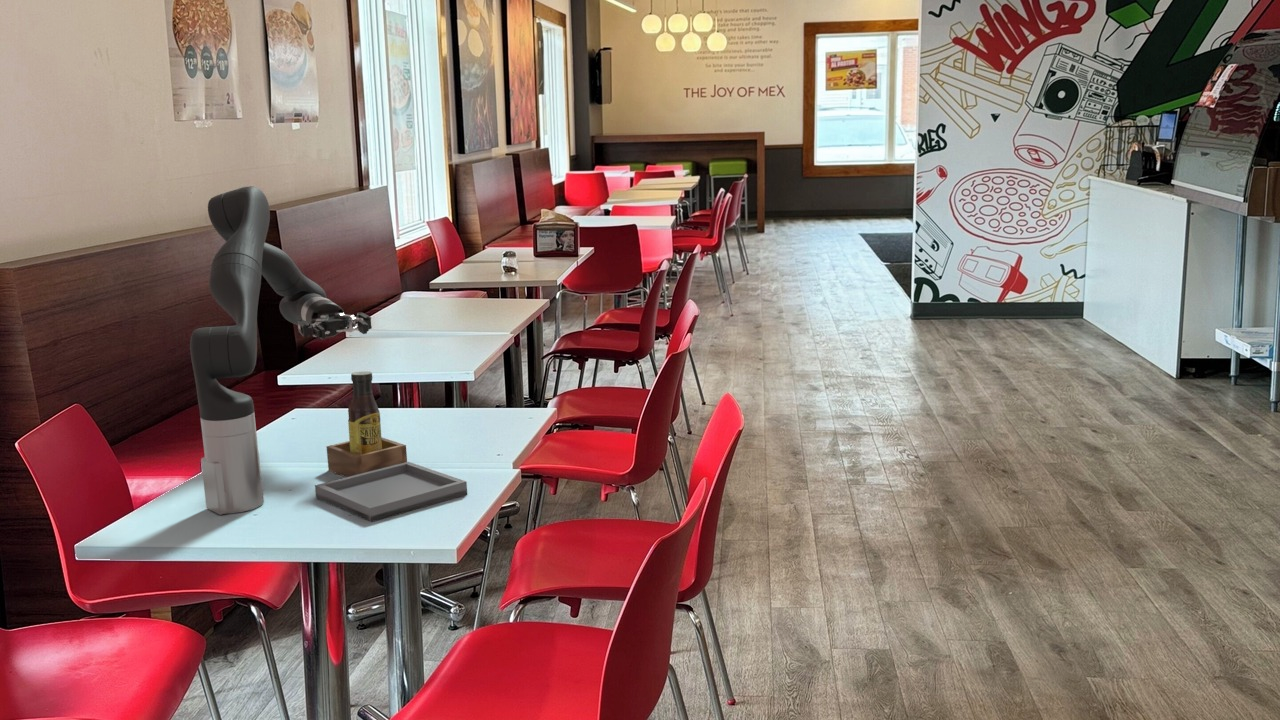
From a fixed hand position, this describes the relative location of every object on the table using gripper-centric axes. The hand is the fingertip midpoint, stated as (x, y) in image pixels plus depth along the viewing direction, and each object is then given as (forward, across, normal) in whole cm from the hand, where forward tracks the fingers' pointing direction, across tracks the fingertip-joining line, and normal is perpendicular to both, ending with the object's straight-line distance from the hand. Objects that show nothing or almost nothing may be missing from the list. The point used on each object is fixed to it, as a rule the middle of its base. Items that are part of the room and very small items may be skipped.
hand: (344, 331), depth 231 cm
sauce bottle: (+11, -1, +26) cm, 29 cm away
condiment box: (+11, -1, +26) cm, 28 cm away
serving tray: (+31, -2, +24) cm, 40 cm away
